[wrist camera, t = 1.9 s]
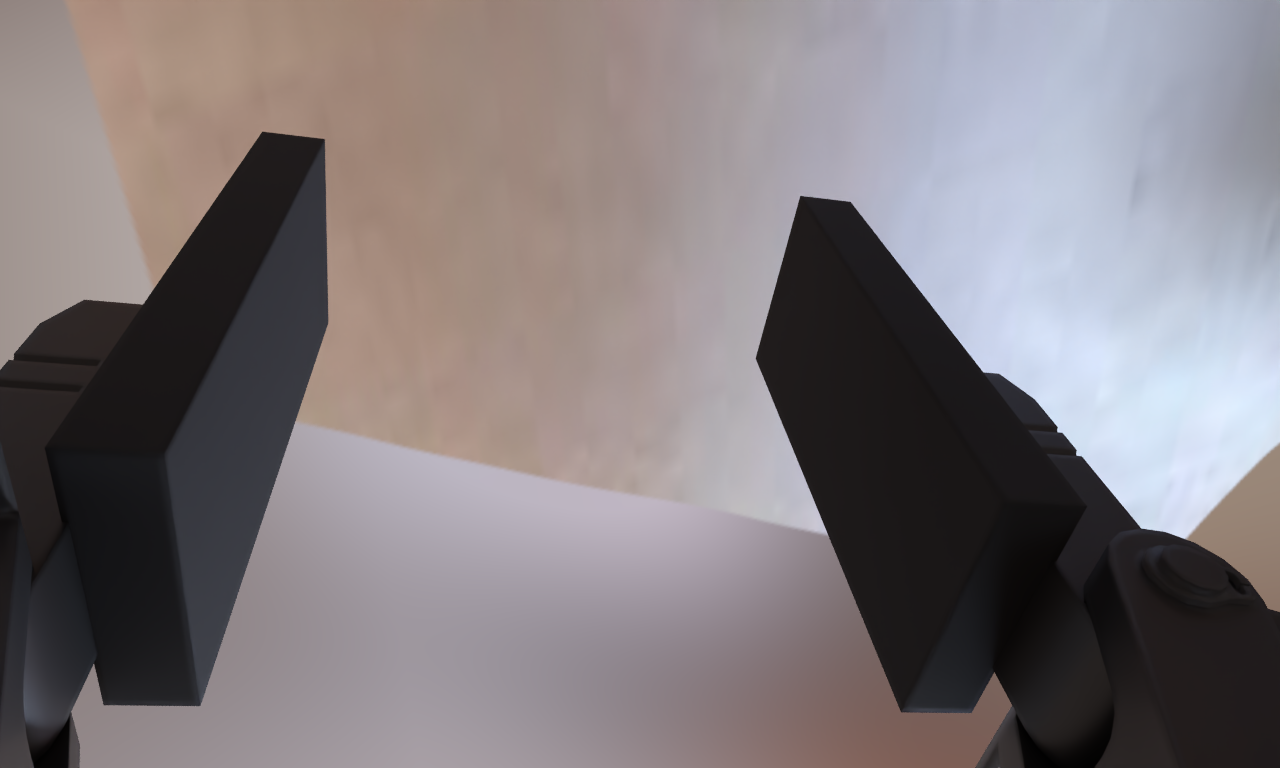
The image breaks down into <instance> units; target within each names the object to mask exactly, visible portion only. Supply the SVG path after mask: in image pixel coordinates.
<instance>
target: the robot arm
mask: <svg viewBox="0 0 1280 768" xmlns="http://www.w3.org/2000/svg"><path fill="white" fill-rule="evenodd" d="M327 325H328V285H327V233H326V182H325V139H319V138H310V137H302V136H293V135H285V134H277V133H268V132H262V133H261V135H260V136H259V138H258V139H257V140H256V142H255V143H254V145H253V146H252V148H251V149H250V151H249V152H248V153H247V155H246V156H245V158H244V159H243V161H242V162H241V164H240V165H239V166H238V168H237V169H236V171H235V172H234V174H233V175H232V177H231V178H230V180H229V181H228V182H227V184H226V185H225V187H224V188H223V190H222V191H221V193H220V194H219V195H218V197H217V198H216V200H215V201H214V203H213V204H212V206H211V207H210V209H209V210H208V211H207V213H206V214H205V216H204V217H203V219H202V220H201V222H200V223H199V224H198V226H197V227H196V229H195V230H194V232H193V233H192V235H191V236H190V237H189V239H188V240H187V242H186V243H185V245H184V246H183V248H182V249H181V251H180V252H179V253H178V255H177V256H176V258H175V259H174V261H173V262H172V264H171V265H170V266H169V268H168V269H167V271H166V272H165V274H164V275H163V277H162V278H161V280H160V281H159V282H158V284H157V285H156V287H155V288H154V290H153V291H152V293H151V294H150V295H149V297H148V299H147V300H146V301H145V303H144V304H143V305H140V304H127V303H116V302H104V301H92V300H83V301H81V302H80V303H77V304H76V305H74V306H72V307H70V308H68V309H66V310H64V311H63V312H61V313H59V314H57V315H55V316H53V317H51V318H50V319H48V320H46V321H44V322H42V323H40V324H39V325H38V326H37V328H36V329H35V330H34V331H33V333H32V334H31V335H30V336H29V337H28V338H27V339H26V340H25V342H24V343H23V344H22V345H21V346H20V347H19V349H18V350H17V351H16V352H15V353H14V360H8V362H7V363H6V364H5V365H4V366H3V367H2V369H1V370H0V768H79V762H80V744H79V740H78V736H77V733H76V729H75V725H74V721H73V718H72V713H71V711H72V708H73V706H74V704H75V702H76V700H77V698H78V696H79V693H80V691H81V689H82V687H83V685H84V683H85V681H86V679H87V677H88V674H89V672H90V670H91V668H92V666H93V664H94V665H95V669H96V673H97V677H98V682H99V686H100V691H101V695H102V699H103V704H104V705H147V706H200V705H201V702H202V699H203V696H204V693H205V690H206V687H207V684H208V681H209V678H210V675H211V672H212V669H213V666H214V663H215V660H216V657H217V654H218V651H219V648H220V645H221V642H222V640H223V637H224V634H225V631H226V628H227V625H228V622H229V618H230V615H231V613H232V610H233V606H234V604H235V601H236V598H237V594H238V592H239V589H240V585H241V582H242V579H243V577H244V574H245V571H246V568H247V565H248V561H249V559H250V556H251V553H252V549H253V547H254V544H255V541H256V538H257V535H258V532H259V528H260V525H261V523H262V520H263V516H264V513H265V511H266V508H267V505H268V502H269V498H270V495H271V493H272V489H273V487H274V484H275V481H276V478H277V475H278V472H279V469H280V466H281V463H282V459H283V457H284V453H285V451H286V448H287V445H288V442H289V439H290V436H291V433H292V429H293V427H294V424H295V421H296V418H297V415H298V412H299V409H300V406H301V403H302V400H303V397H304V394H305V391H306V388H307V385H308V382H309V379H310V376H311V373H312V370H313V367H314V364H315V361H316V358H317V355H318V352H319V349H320V346H321V343H322V340H323V337H324V334H325V331H326V328H327ZM756 360H757V363H758V365H759V368H760V370H761V372H762V375H763V377H764V380H765V382H766V385H767V387H768V389H769V392H770V394H771V397H772V399H773V402H774V404H775V407H776V409H777V411H778V414H779V416H780V419H781V421H782V424H783V426H784V428H785V431H786V433H787V436H788V438H789V441H790V443H791V445H792V448H793V450H794V453H795V455H796V458H797V460H798V462H799V465H800V467H801V470H802V472H803V475H804V477H805V479H806V482H807V484H808V487H809V489H810V492H811V494H812V497H813V499H814V501H815V504H816V506H817V509H818V511H819V514H820V516H821V518H822V521H823V523H824V526H825V528H826V531H827V533H828V535H829V538H830V540H831V543H832V545H833V547H834V550H835V552H836V555H837V557H838V559H839V562H840V565H841V567H842V569H843V572H844V574H845V577H846V579H847V582H848V584H849V586H850V589H851V591H852V594H853V596H854V599H855V601H856V604H857V606H858V608H859V611H860V613H861V616H862V618H863V620H864V623H865V625H866V628H867V630H868V633H869V635H870V637H871V640H872V642H873V645H874V647H875V650H876V652H877V654H878V657H879V659H880V662H881V664H882V667H883V669H884V672H885V674H886V677H887V679H888V681H889V684H890V686H891V689H892V691H893V693H894V696H895V698H896V701H897V703H898V706H899V708H900V710H901V712H921V713H923V712H924V713H925V712H926V713H927V712H929V713H972V711H973V709H974V707H975V706H976V704H977V702H978V700H979V698H980V697H981V695H982V693H983V691H984V690H985V688H986V686H987V684H988V682H989V681H990V678H991V677H992V675H993V673H994V672H995V674H996V676H997V677H998V679H999V681H1000V683H1001V685H1002V687H1003V689H1004V691H1005V692H1006V694H1007V696H1008V698H1009V700H1010V702H1011V704H1012V707H1011V709H1010V710H1009V712H1008V713H1007V715H1006V717H1005V719H1004V720H1003V722H1002V724H1001V725H1000V727H999V729H998V730H997V732H996V734H995V735H994V737H993V739H992V741H991V742H990V744H989V745H988V747H987V749H986V750H985V752H984V754H983V756H982V757H981V759H980V761H979V762H978V764H977V766H976V767H975V768H1280V612H1277V611H1274V610H1270V609H1268V608H1267V606H1266V604H1265V602H1264V601H1263V599H1262V598H1261V597H1260V595H1259V594H1258V593H1257V592H1256V590H1255V589H1254V587H1253V586H1252V585H1251V583H1250V582H1249V581H1248V579H1246V578H1245V577H1244V576H1243V575H1242V574H1241V573H1240V572H1238V571H1237V570H1236V569H1234V568H1233V567H1232V566H1231V565H1230V564H1228V563H1227V562H1226V561H1225V560H1224V559H1222V558H1220V557H1219V556H1217V555H1215V554H1213V553H1212V552H1210V551H1208V550H1206V549H1205V548H1203V547H1201V546H1199V545H1198V544H1196V543H1194V542H1191V541H1188V540H1186V539H1183V538H1180V537H1177V536H1175V535H1172V534H1169V533H1166V532H1161V531H1154V530H1147V529H1141V528H1140V526H1139V525H1138V524H1137V523H1136V522H1135V520H1134V519H1133V518H1132V517H1131V516H1130V514H1129V513H1128V512H1127V511H1126V509H1125V508H1124V507H1123V506H1122V505H1121V503H1120V502H1119V501H1118V500H1117V499H1116V497H1115V496H1114V495H1113V494H1112V493H1111V491H1110V490H1109V489H1108V488H1107V486H1106V485H1105V484H1104V483H1103V482H1102V480H1101V479H1100V478H1099V477H1098V476H1097V474H1096V473H1095V472H1094V471H1093V470H1092V468H1091V467H1090V466H1089V465H1088V463H1087V462H1086V461H1085V460H1084V459H1083V457H1082V456H1076V451H1077V450H1076V449H1075V448H1074V447H1073V445H1072V444H1071V443H1070V442H1069V440H1068V439H1067V438H1066V437H1065V436H1064V434H1063V433H1057V428H1058V427H1057V426H1056V425H1055V424H1054V422H1053V421H1052V420H1051V419H1050V417H1049V416H1048V415H1047V414H1046V413H1045V411H1044V410H1043V409H1042V408H1041V407H1040V405H1039V404H1038V403H1037V402H1036V401H1035V399H1033V398H1032V397H1031V396H1029V395H1028V394H1026V393H1025V392H1024V391H1022V390H1021V389H1019V388H1018V387H1017V386H1015V385H1014V384H1012V383H1011V382H1010V381H1008V380H1007V379H1006V378H1004V377H1003V376H1001V375H1000V374H994V373H983V372H982V370H981V369H980V368H979V366H978V365H977V364H976V363H975V361H974V360H973V359H972V357H971V356H970V355H969V354H968V352H967V351H966V350H965V348H964V347H963V346H962V345H961V343H960V342H959V341H958V339H957V338H956V337H955V336H954V334H953V333H952V332H951V330H950V329H949V328H948V327H947V325H946V324H945V323H944V321H943V320H942V319H941V318H940V316H939V315H938V314H937V312H936V311H935V310H934V309H933V307H932V306H931V305H930V303H929V302H928V301H927V300H926V298H925V297H924V296H923V294H922V293H921V292H920V291H919V289H918V288H917V287H916V285H915V284H914V283H913V282H912V280H911V279H910V278H909V276H908V275H907V274H906V273H905V271H904V270H903V269H902V268H901V266H900V265H899V264H898V262H897V261H896V260H895V259H894V257H893V256H892V255H891V253H890V252H889V251H888V250H887V248H886V247H885V246H884V244H883V243H882V242H881V241H880V239H879V238H878V237H877V235H876V234H875V233H874V232H873V230H872V229H871V228H870V226H869V225H868V224H867V223H866V221H865V220H864V219H863V217H862V216H861V215H860V214H859V212H858V211H857V210H856V208H855V207H854V206H853V205H852V203H851V202H846V201H838V200H830V199H821V198H813V197H804V196H800V199H799V203H798V207H797V210H796V214H795V218H794V221H793V225H792V229H791V232H790V236H789V239H788V243H787V247H786V250H785V254H784V258H783V261H782V265H781V269H780V272H779V276H778V279H777V283H776V287H775V290H774V294H773V298H772V301H771V305H770V309H769V312H768V316H767V319H766V323H765V327H764V330H763V334H762V338H761V341H760V345H759V348H758V352H757V356H756Z"/></svg>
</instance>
